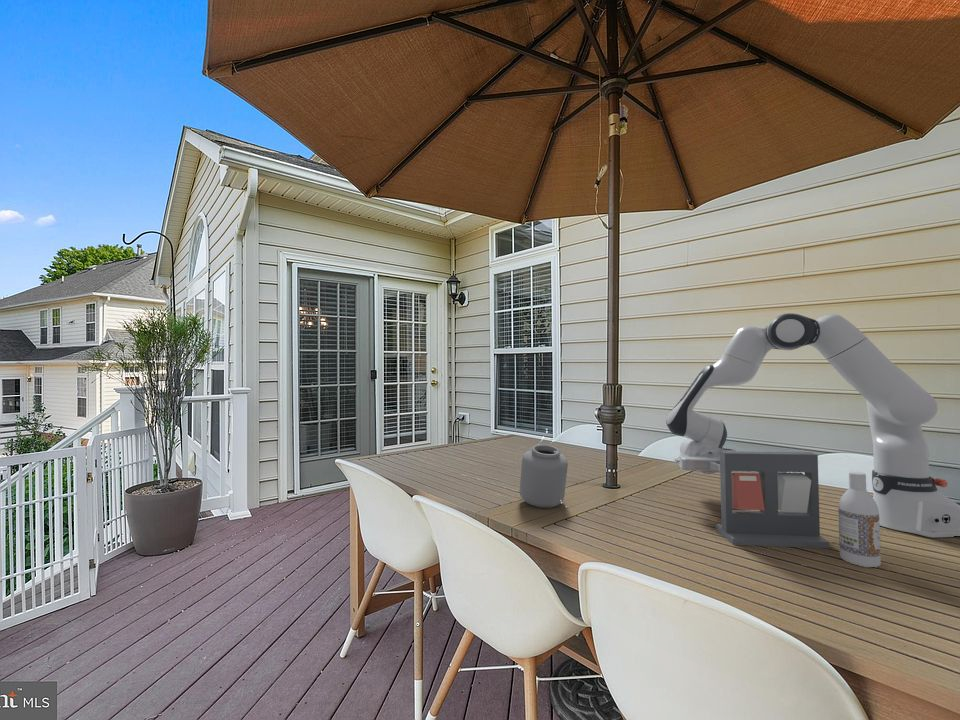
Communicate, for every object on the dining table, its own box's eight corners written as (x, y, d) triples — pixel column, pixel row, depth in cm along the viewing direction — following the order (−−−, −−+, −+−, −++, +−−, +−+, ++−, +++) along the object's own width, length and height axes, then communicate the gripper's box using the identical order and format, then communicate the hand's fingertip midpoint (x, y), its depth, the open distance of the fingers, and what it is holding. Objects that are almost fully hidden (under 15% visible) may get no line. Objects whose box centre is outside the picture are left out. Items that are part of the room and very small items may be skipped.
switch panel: (804, 532, 114) (802, 449, 115) (829, 548, 105) (826, 457, 105) (716, 529, 117) (714, 448, 118) (732, 544, 107) (730, 456, 108)
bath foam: (875, 571, 92) (872, 478, 93) (835, 559, 98) (832, 472, 99) (885, 563, 96) (882, 473, 97) (846, 552, 102) (843, 468, 103)
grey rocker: (797, 504, 113) (801, 472, 111) (806, 512, 109) (811, 480, 107) (772, 503, 114) (776, 472, 112) (781, 511, 110) (785, 479, 108)
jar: (580, 510, 134) (579, 430, 135) (538, 516, 129) (537, 433, 130) (550, 494, 152) (549, 423, 152) (512, 499, 147) (511, 425, 147)
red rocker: (756, 509, 112) (751, 473, 115) (765, 510, 108) (759, 473, 111) (732, 508, 113) (727, 473, 115) (739, 509, 109) (734, 472, 111)
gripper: (672, 448, 140) (686, 457, 126) (740, 449, 137) (762, 458, 123) (672, 468, 139) (687, 479, 126) (740, 469, 137) (763, 480, 123)
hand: (725, 468), depth 124 cm, fingers closed
